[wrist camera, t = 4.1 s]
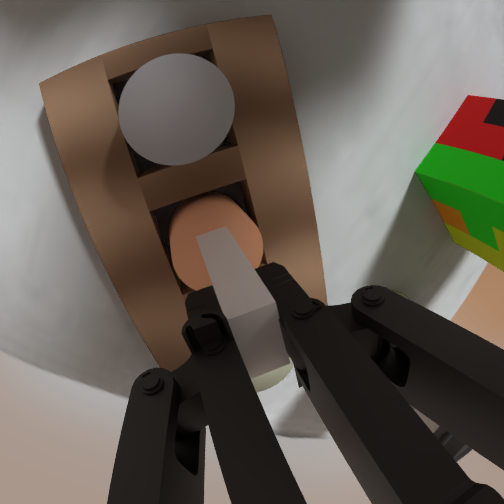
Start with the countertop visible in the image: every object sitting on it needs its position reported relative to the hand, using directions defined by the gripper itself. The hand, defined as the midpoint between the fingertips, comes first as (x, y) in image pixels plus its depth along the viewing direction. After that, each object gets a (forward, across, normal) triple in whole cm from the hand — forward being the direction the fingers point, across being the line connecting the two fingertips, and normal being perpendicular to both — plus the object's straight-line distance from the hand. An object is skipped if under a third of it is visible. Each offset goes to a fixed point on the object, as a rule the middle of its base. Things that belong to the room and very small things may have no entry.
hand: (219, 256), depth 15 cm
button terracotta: (+4, 0, 0) cm, 4 cm away
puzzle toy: (+4, +23, -2) cm, 23 cm away
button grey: (+2, 0, +7) cm, 7 cm away
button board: (+4, 0, 0) cm, 4 cm away
